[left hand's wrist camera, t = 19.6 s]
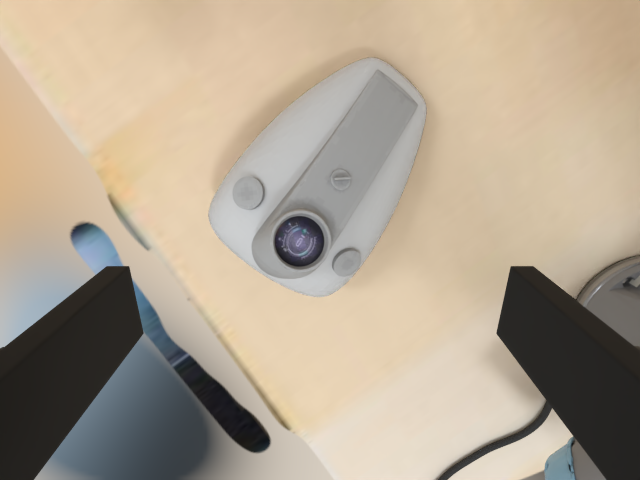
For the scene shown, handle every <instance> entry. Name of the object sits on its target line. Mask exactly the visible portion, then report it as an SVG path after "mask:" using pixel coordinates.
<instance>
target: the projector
mask: <svg viewBox="0 0 640 480" xmlns="http://www.w3.org/2000/svg"><path fill="white" fill-rule="evenodd" d="M426 110H427V109H426V103H425V100H424V99H423V97H422V95H421V94H420V93H419V91H418V90H417V89H416V88H415V87H414V86H413V85H412V83H411V82H409V81H408V80H407V79H406V78H405V77H404V76H403V75H402V74H401V73H399V72H398V71H397V70H396V69H395V68H393V67H392V66H391V65H389V64H388V63H386V62H384V61H382V60H380V59H378V58H372V57H371V58H364V59H361V60H358V61H356V62H353V63H351V64H349V65H347V66H345V67H344V68H342V69H340V70H338V71H336V72H335V73H333V74H332V75H330V76H328V77H327V78H325V79H324V80H322V81H321V82H319V83H318V84H316V85H315V86H314V87H312V88H311V89H309V90H308V91H307V92H305V93H304V94H303V95H302V96H300V97H299V98H298V99H296V100H295V101H294V102H293V103H292V104H290V105H289V106H288V107H287V108H286V109H285V110H283V111H282V112H281V113H280V114H279V115H278V116H277V117H276V118H275V119H274V120H273V121H272V122H271V123H270V124H269V125H268V126H267V127H266V128H265V129H264V130H263V131H262V132H261V133H260V134H259V135H258V136H257V138H256V139H255V140H254V141H253V142H252V143H251V144H250V145H249V147H248V148H247V149H246V150H245V152H244V153H243V154H242V155H241V157H240V158H239V159H238V160H237V162H236V163H235V164H234V166H233V167H232V168H231V170H230V171H229V173H228V174H227V176H226V177H225V178H224V180H223V182H222V183H221V185H220V186H219V188H218V190H217V192H216V194H215V195H214V197H213V200H212V202H211V204H210V208H209V221H210V224H211V227H212V228H213V230H214V232H215V233H216V235H217V236H218V238H219V239H220V240H221V241H222V242H223V243H224V244H225V245H226V246H227V247H228V248H229V249H230V250H231V251H232V252H233V253H234V254H236V255H237V256H238V257H239V258H241V259H242V260H243V261H244V262H246V263H247V264H248V265H249V266H251V267H252V268H254V269H255V270H257V271H258V272H260V273H261V274H263V275H264V276H266V277H267V278H269V279H271V280H272V281H274V282H276V283H278V284H280V285H282V286H284V287H286V288H288V289H290V290H293V291H295V292H298V293H300V294H304V295H307V296H312V297H324V296H328V295H330V294H332V293H334V292H336V291H337V290H339V289H340V288H341V287H342V286H344V285H345V284H346V283H347V282H348V281H349V280H350V279H351V278H352V277H353V275H354V274H355V273H356V272H357V270H358V269H359V268H360V267H361V266H362V264H363V263H364V261H365V260H366V259H367V257H368V256H369V254H370V253H371V251H372V250H373V248H374V247H375V245H376V243H377V242H378V240H379V239H380V237H381V235H382V233H383V231H384V230H385V228H386V226H387V224H388V222H389V220H390V218H391V216H392V214H393V212H394V210H395V208H396V206H397V204H398V202H399V200H400V197H401V195H402V193H403V190H404V188H405V185H406V183H407V180H408V177H409V175H410V172H411V169H412V166H413V163H414V160H415V157H416V154H417V151H418V147H419V144H420V141H421V137H422V133H423V129H424V124H425V119H426Z"/></svg>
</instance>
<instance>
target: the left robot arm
mask: <svg viewBox="0 0 640 480" xmlns="http://www.w3.org/2000/svg"><path fill="white" fill-rule="evenodd" d="M142 335H143V329H142V324H141V319H140V315H139V310H138V305H137V301H136V296H135V291H134V287H133V282H132V278H131V273H130V268H129V266H107V267H105V268H104V269H103V270H102V271H100V272H99V273H98V274H97V275H95V276H94V277H93V278H91V279H90V280H89V281H88V282H86V283H85V284H84V285H83V286H81V287H80V288H79V289H78V290H76V291H75V292H74V293H72V294H71V295H70V296H69V297H67V298H66V299H65V300H64V301H62V302H61V303H60V304H59V305H57V306H56V307H55V308H53V309H52V310H51V311H50V312H48V313H47V314H46V315H45V316H43V317H42V318H41V319H40V320H38V321H37V322H36V323H35V324H33V325H32V326H31V327H29V328H28V329H27V330H26V331H24V332H23V333H22V334H20V335H19V336H18V337H17V338H15V339H14V340H13V341H12V342H10V343H9V344H8V345H7V346H5V347H2V348H0V480H34V479H35V477H36V476H37V475H38V473H39V472H40V471H41V469H42V468H43V467H44V465H45V464H46V463H47V461H48V460H49V459H50V457H51V456H52V455H53V453H54V452H55V451H56V449H57V448H58V447H59V445H60V444H61V443H62V441H63V440H64V439H65V437H66V436H67V435H68V433H69V432H70V431H71V429H72V428H73V427H74V425H75V424H76V423H77V421H78V420H79V419H80V417H81V416H82V415H83V413H84V412H85V411H86V409H87V408H88V407H89V405H90V404H91V403H92V401H93V400H94V399H95V397H96V396H97V395H98V393H99V392H100V391H101V389H102V388H103V387H104V385H105V384H106V383H107V381H108V380H109V379H110V377H111V376H112V375H113V373H114V372H115V371H116V369H117V368H118V367H119V365H120V364H121V363H122V361H123V360H124V359H125V357H126V356H127V355H128V353H129V352H130V351H131V349H132V348H133V347H134V345H135V344H136V343H137V341H138V340H139V339H140V337H141V336H142ZM497 335H498V336H499V337H500V339H501V340H502V341H503V343H504V344H505V345H506V347H507V348H508V349H509V351H510V352H511V353H512V355H513V356H514V357H515V359H516V360H517V361H518V363H519V364H520V365H521V367H522V368H523V369H524V371H525V372H526V373H527V375H528V376H529V377H530V379H531V380H532V381H533V383H534V384H535V385H536V387H537V388H538V389H539V391H540V392H541V393H542V395H543V396H544V397H545V399H546V400H547V402H546V404H545V406H544V408H543V410H542V412H541V414H540V415H539V417H538V418H537V419H536V420H535V421H534V422H533V423H532V424H531V425H529V426H528V427H527V428H525V429H524V430H522V431H520V432H518V433H516V434H514V435H512V436H509V437H507V438H504V439H502V440H499V441H497V442H494V443H492V444H490V445H488V446H486V447H484V448H482V449H480V450H478V451H477V452H475V453H473V454H472V455H470V456H468V457H467V458H465V459H463V460H462V461H460V462H459V463H457V464H456V465H454V466H453V467H451V468H450V469H449V470H448V471H446V472H445V473H444V474H443V475H442V476H441V477H440V478H439V479H438V480H448V479H449V478H450V477H451V476H452V475H453V474H455V473H456V472H457V471H459V470H460V469H462V468H463V467H465V466H467V465H468V464H470V463H472V462H473V461H475V460H477V459H478V458H480V457H482V456H484V455H485V454H487V453H489V452H491V451H493V450H496V449H498V448H500V447H503V446H506V445H508V444H511V443H513V442H516V441H518V440H520V439H522V438H524V437H526V436H528V435H529V434H531V433H532V432H534V431H535V430H536V429H537V428H539V427H540V426H541V425H542V423H543V422H544V421H545V420H546V418H547V417H548V415H549V413H550V411H551V409H552V408H553V409H554V411H555V412H556V413H557V415H558V416H559V417H560V419H561V420H562V421H563V423H564V424H565V425H566V427H567V428H568V429H569V431H570V432H571V433H572V435H573V437H572V438H570V440H569V441H568V443H567V444H566V445H565V446H563V447H562V448H560V449H559V450H557V451H556V452H555V453H553V454H552V455H551V456H550V457H549V458H548V459H547V461H546V463H545V470H544V471H545V480H640V256H635V257H631V258H628V259H625V260H622V261H620V262H618V263H615V264H614V265H612V266H610V267H608V268H607V269H605V270H603V271H602V272H601V273H599V274H598V275H597V276H596V277H594V278H593V279H592V280H591V281H590V282H589V283H588V284H587V285H586V287H585V288H584V289H583V290H582V292H581V293H580V295H579V296H578V298H577V300H575V299H574V298H573V297H571V296H570V295H569V294H568V293H566V292H565V291H564V290H562V289H561V288H560V287H559V286H557V285H556V284H555V283H554V282H552V281H551V280H550V279H549V278H547V277H546V276H545V275H543V274H542V273H541V272H540V271H538V270H537V269H536V268H535V267H533V266H511V268H510V273H509V278H508V282H507V287H506V291H505V296H504V301H503V305H502V310H501V315H500V319H499V324H498V329H497Z"/></svg>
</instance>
